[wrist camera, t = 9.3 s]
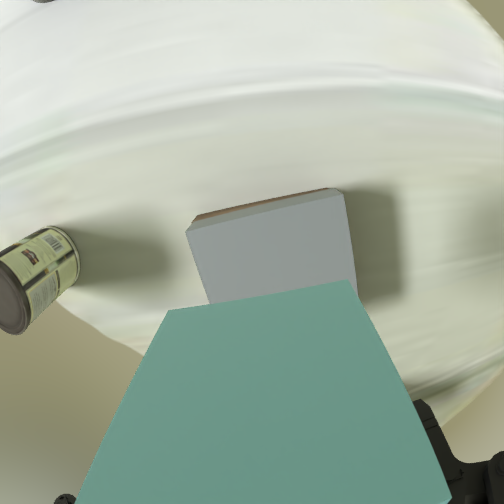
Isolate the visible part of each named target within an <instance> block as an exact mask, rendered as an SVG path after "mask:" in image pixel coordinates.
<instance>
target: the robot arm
mask: <svg viewBox="0 0 504 504" xmlns="http://www.w3.org/2000/svg"><path fill="white" fill-rule="evenodd" d="M33 1H35V2H38V3H46V2H50V1H53V0H33ZM412 403H413V405H414V407H415V409H416V411H417V414H418V416H419V418H420V420H421V422H422V425H423V427H424V429H425V432H426V434H427V436H428V438H429V441H430V443H431V445H432V448H433V450H434V453H435V455H436V457H437V460H438V462H439V465H440V467H441V470H442V472H443V475H444V477H445V480H446V483H447V485H448V488H449V491H450V493H451V496H452V498H451V500H450V501H449V502H448V503H447V504H504V451H501V452H499V453H497V454H495V455H494V456H493V458H492V459H491V460H489V461H483V462H477V463H464V462H461V461H459V460H458V459H456V458H455V457H454V455H453V454H452V452H451V449H450V447H449V445H448V443H447V441H446V439H445V436H444V434H443V432H442V430H441V428H440V426H439V424H438V422H437V420H436V418H435V416H434V414H433V412H432V410H431V408H430V406H429V405H428V404H426V403H425V402H424V401H423V400H421V399H419V400H416V401H413V402H412ZM75 501H76V498H75V497H74V496H73V495H70V494H63V495H60V496H59V497H58V498H57V499H56V500H55V502H54V504H75Z"/></svg>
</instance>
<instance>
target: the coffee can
mask: <svg viewBox="0 0 504 504" xmlns="http://www.w3.org/2000/svg"><path fill="white" fill-rule="evenodd" d="M79 273H80V259H79V255H78V252H77V249H76V247H75V245H74V243H73V241H72V240H71V239H70V238H69V236H68V235H67V234H66V233H65V232H63V231H62V230H60V229H58V228H56V227H52V226H46V227H43V228H41V229H40V230H38V231H36V232H35V233H33V234H31V235H29V236H27V237H25V238H24V239H22V240H20V241H18V242H17V243H15V244H13V245H11V246H9V247H8V248H6V249H4V250H3V251H1V252H0V328H1V329H2V330H3V331H5V332H7V333H9V334H12V335H19V334H22V333H23V332H24V331H25V330H26V329H27V327H28V326H29V325H30V323H32V322H33V321H34V320H35V319H36V318H37V317H38V316H39V315H40V314H41V313H42V312H43V311H44V310H45V309H46V308H47V307H48V306H49V305H50V304H51V303H52V302H53V301H54V300H56V299H57V298H58V297H59V296H60V295H61V294H62V293H63V292H64V291H65V290H66V289H67V288H69V287H70V286H71V285H73V284H74V283H75V282H76V280H77V278H78V276H79Z"/></svg>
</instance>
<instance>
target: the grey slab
mask: <svg viewBox="0 0 504 504" xmlns="http://www.w3.org/2000/svg"><path fill="white" fill-rule="evenodd" d="M185 233H186V236H187V239H188V242H189V245H190V248H191V251H192V254H193V257H194V260H195V263H196V266H197V269H198V272H199V275H200V277H201V280H202V283H203V286H204V289H205V292H206V294H207V297H208V300H209V303H210V304H214V303H221V302H227V301H233V300H239V299H245V298H250V297H256V296H262V295H268V294H273V293H279V292H284V291H289V290H295V289H300V288H305V287H310V286H315V285H321V284H326V283H331V282H335V281H340V280H345V279H348V280H349V282H350V284H351V285H352V287H353V289H354V291H355V292H356V294H357V296H358V290H357V281H356V273H355V265H354V257H353V250H352V243H351V237H350V230H349V224H348V218H347V212H346V206H345V201H344V195H343V194H342V193H341V192H339V191H338V190H336V189H335V188H332V189H327V190H323V191H318V192H314V193H309V194H305V195H300V196H296V197H292V198H287V199H283V200H279V201H274V202H270V203H266V204H262V205H258V206H254V207H249V208H245V209H241V210H237V211H233V212H229V213H225V214H222V215H218V216H214V217H210V218H206V219H202V220H198V221H195V222H193V223H192V224H191V226H190V227H189V228H188V229H187V230H186V232H185Z"/></svg>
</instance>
